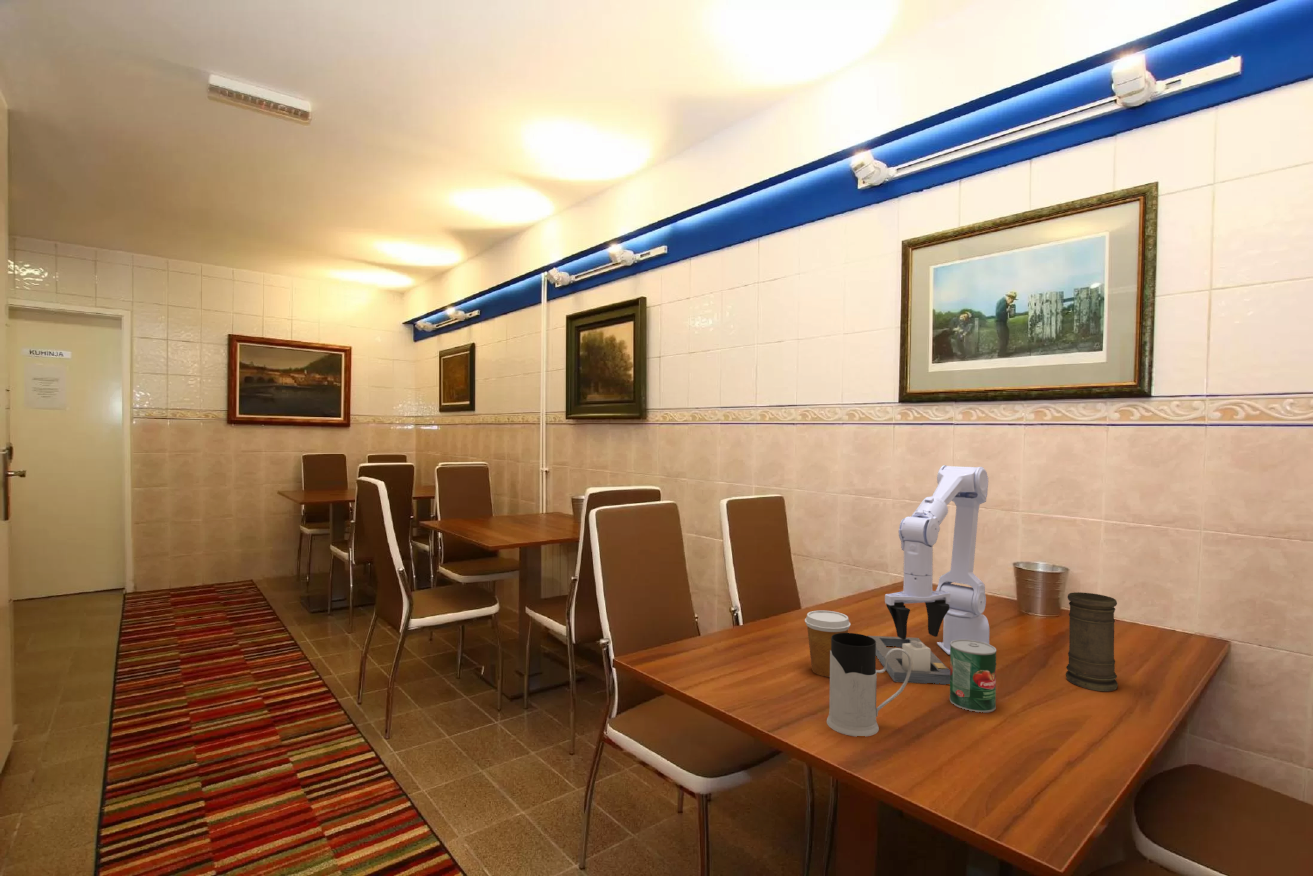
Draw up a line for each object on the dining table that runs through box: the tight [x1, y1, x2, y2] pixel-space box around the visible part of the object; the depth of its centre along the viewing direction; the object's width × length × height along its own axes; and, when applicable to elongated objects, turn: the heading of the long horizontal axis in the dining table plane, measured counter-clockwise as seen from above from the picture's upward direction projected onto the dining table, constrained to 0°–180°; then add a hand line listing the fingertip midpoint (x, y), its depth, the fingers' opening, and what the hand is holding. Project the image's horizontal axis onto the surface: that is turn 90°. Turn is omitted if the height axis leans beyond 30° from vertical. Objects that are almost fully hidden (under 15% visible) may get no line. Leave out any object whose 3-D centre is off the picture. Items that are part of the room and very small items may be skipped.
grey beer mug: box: [826, 632, 911, 737], centre depth 109 cm, size 9×14×15 cm, turn 84°
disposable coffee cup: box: [804, 610, 851, 678], centre depth 134 cm, size 10×10×12 cm
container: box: [1065, 591, 1119, 692], centre depth 129 cm, size 9×9×18 cm
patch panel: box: [868, 635, 950, 685], centre depth 140 cm, size 12×24×2 cm, turn 174°
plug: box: [901, 640, 931, 671], centre depth 133 cm, size 4×4×7 cm
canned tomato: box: [949, 640, 997, 714], centre depth 118 cm, size 8×8×11 cm
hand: (917, 636), depth 133 cm, fingers open, 7 cm apart
